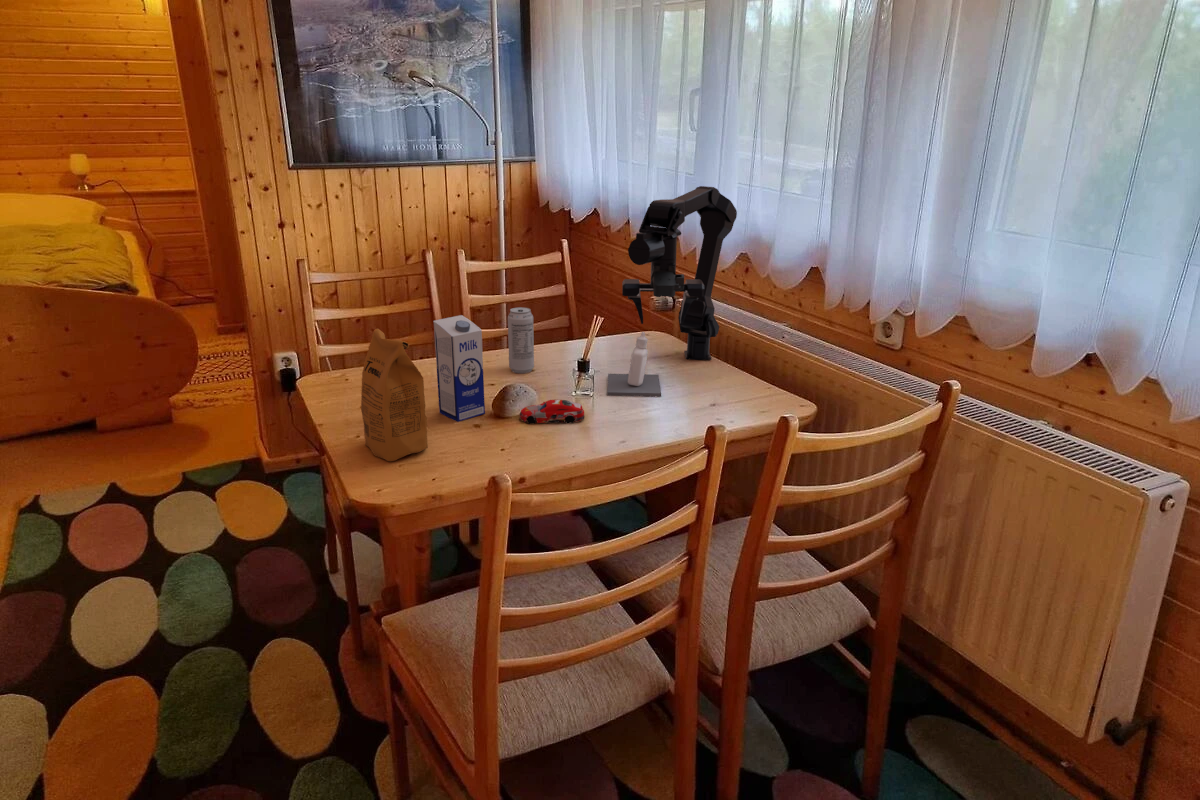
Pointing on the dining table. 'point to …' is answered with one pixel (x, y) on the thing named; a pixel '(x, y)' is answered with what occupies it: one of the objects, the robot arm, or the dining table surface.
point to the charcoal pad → (622, 388)
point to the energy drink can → (521, 340)
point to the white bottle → (638, 361)
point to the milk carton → (459, 368)
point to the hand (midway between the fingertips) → (661, 323)
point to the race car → (553, 412)
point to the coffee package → (392, 400)
